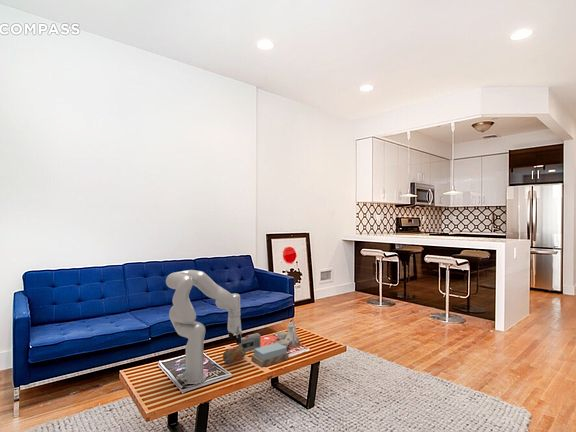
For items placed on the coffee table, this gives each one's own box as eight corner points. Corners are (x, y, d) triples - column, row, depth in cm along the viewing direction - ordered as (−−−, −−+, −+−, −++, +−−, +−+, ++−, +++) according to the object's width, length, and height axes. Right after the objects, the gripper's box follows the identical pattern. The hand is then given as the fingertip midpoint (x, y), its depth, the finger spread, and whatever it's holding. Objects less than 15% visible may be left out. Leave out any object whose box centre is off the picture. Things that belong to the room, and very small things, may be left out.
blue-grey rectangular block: (262, 360, 204) (262, 354, 204) (254, 355, 212) (254, 348, 212) (286, 353, 215) (286, 347, 215) (277, 348, 223) (277, 342, 223)
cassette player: (240, 353, 224) (240, 338, 225) (238, 352, 227) (238, 337, 227) (260, 348, 234) (260, 333, 234) (258, 346, 236) (258, 332, 236)
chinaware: (273, 340, 253) (271, 318, 253) (295, 336, 256) (293, 314, 256) (279, 355, 226) (277, 330, 225) (304, 350, 229) (301, 326, 228)
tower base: (261, 368, 203) (261, 361, 203) (251, 361, 213) (251, 355, 213) (288, 360, 215) (288, 353, 215) (277, 354, 225) (277, 347, 225)
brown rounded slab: (224, 365, 206) (224, 351, 206) (221, 363, 209) (222, 349, 209) (245, 358, 216) (245, 345, 216) (243, 357, 218) (243, 344, 218)
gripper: (222, 311, 217) (223, 338, 217) (235, 318, 203) (236, 347, 204) (233, 309, 222) (233, 335, 222) (246, 316, 208) (247, 344, 208)
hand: (234, 341), depth 213 cm, fingers open, 9 cm apart
